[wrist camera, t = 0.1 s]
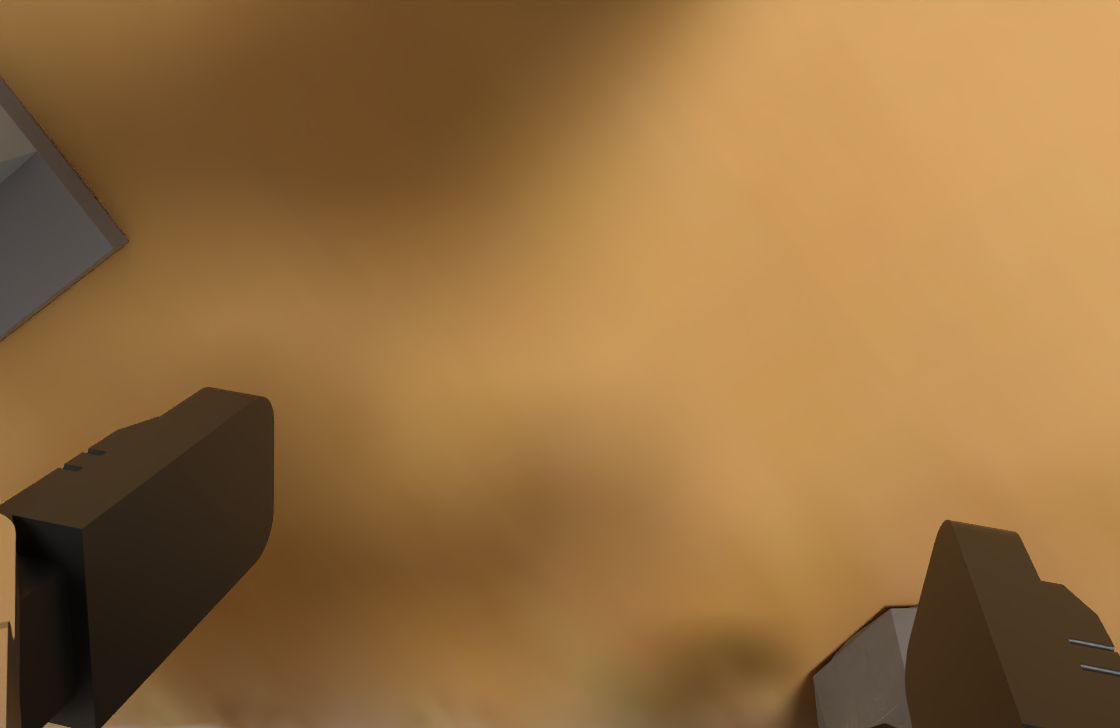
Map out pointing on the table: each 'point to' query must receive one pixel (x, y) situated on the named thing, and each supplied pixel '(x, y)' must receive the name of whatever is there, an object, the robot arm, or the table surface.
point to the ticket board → (43, 219)
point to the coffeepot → (868, 676)
